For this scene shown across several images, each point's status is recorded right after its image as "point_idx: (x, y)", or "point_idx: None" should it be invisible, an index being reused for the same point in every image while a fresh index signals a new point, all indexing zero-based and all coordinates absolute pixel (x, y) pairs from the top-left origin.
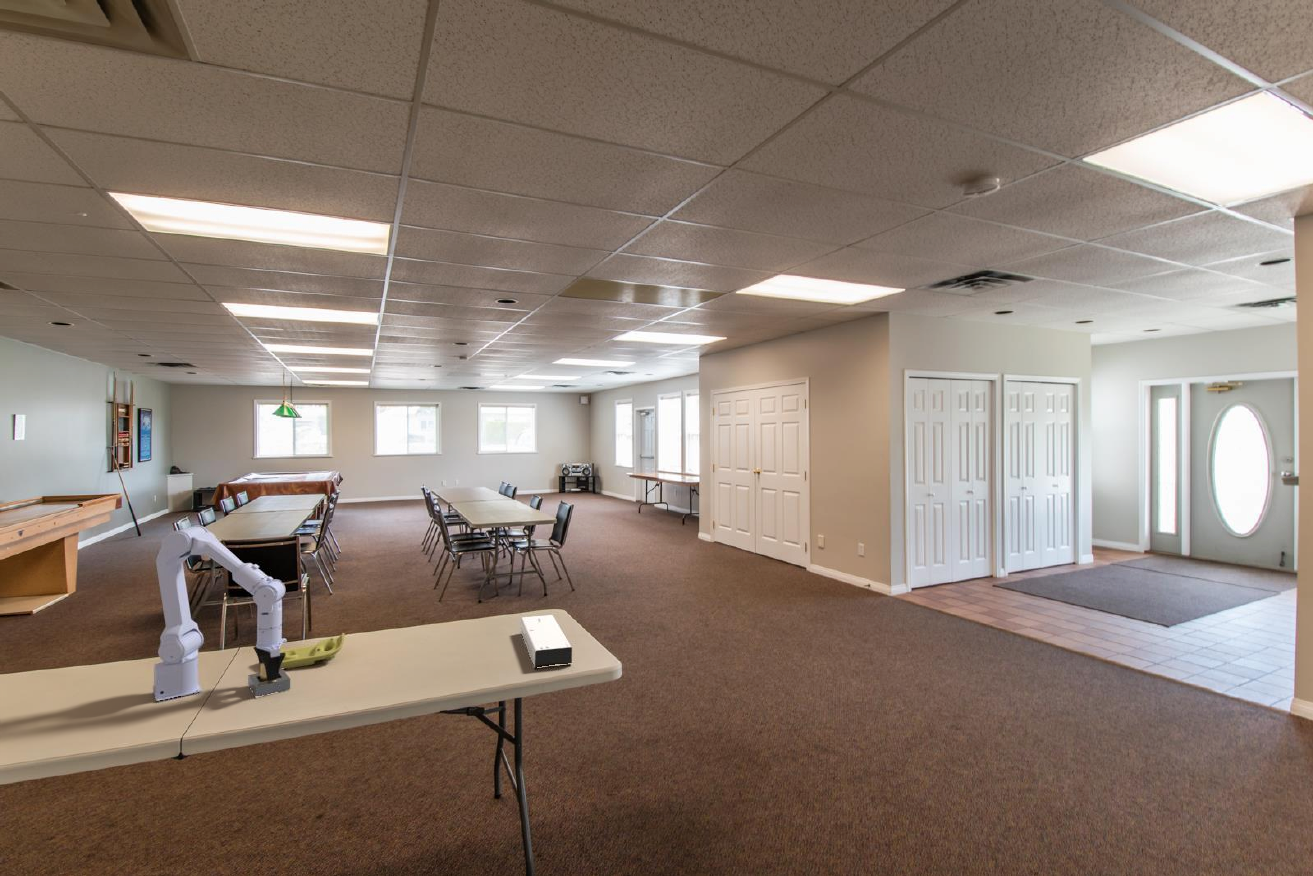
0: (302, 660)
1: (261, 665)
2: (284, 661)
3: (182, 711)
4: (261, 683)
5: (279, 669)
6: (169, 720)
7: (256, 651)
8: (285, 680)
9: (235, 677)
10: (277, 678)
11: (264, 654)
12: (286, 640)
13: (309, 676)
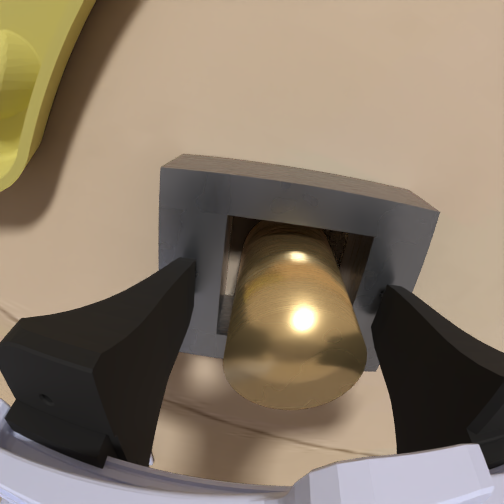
0: (84, 6)
1: (300, 406)
2: (34, 111)
3: (264, 458)
4: None
5: (442, 316)
6: (299, 472)
7: (146, 464)
8: (429, 238)
9: (44, 301)
10: (315, 240)
11: (150, 393)
12: (490, 476)
13: (284, 18)
